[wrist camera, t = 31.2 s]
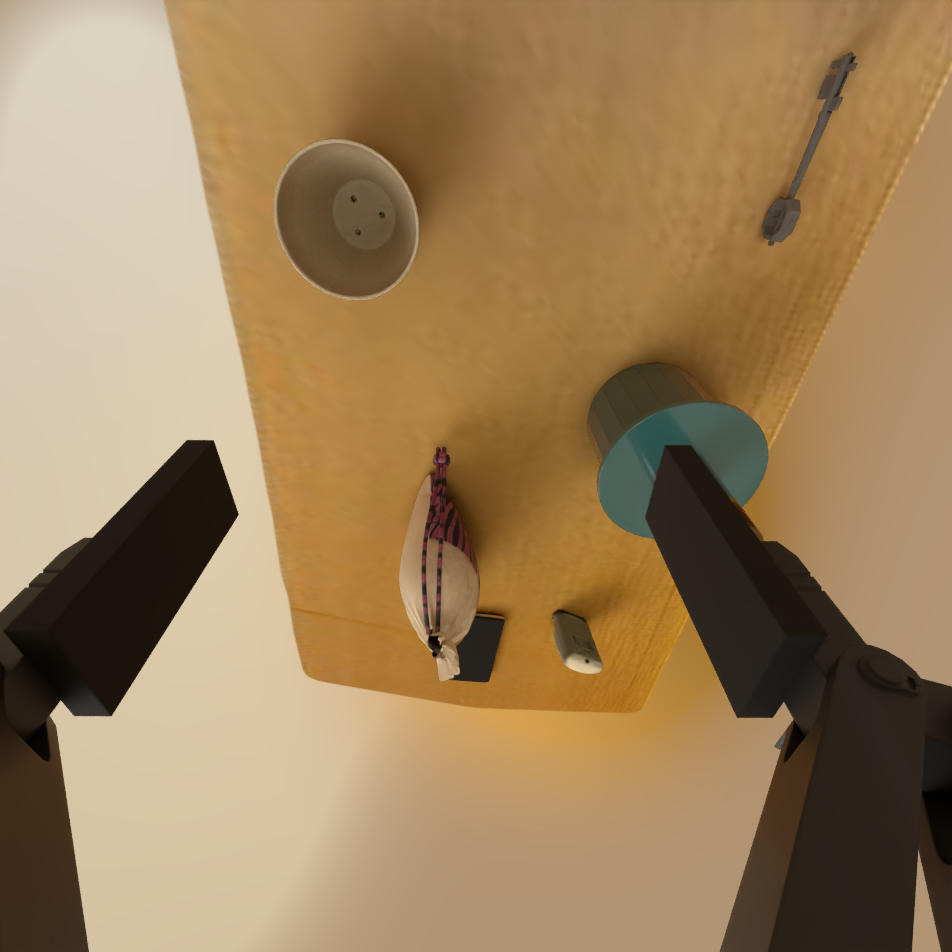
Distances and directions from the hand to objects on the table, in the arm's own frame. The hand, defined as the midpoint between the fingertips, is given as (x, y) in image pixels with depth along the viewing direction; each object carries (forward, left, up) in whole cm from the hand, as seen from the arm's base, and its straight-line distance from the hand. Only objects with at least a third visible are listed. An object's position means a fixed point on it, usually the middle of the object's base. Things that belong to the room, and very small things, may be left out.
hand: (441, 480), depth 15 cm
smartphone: (+25, +46, -33) cm, 62 cm away
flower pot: (+5, -7, -33) cm, 34 cm away
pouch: (+17, +25, -33) cm, 45 cm away
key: (-26, +6, -33) cm, 43 cm away
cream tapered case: (+10, +48, -33) cm, 59 cm away
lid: (-9, +22, -22) cm, 33 cm away
